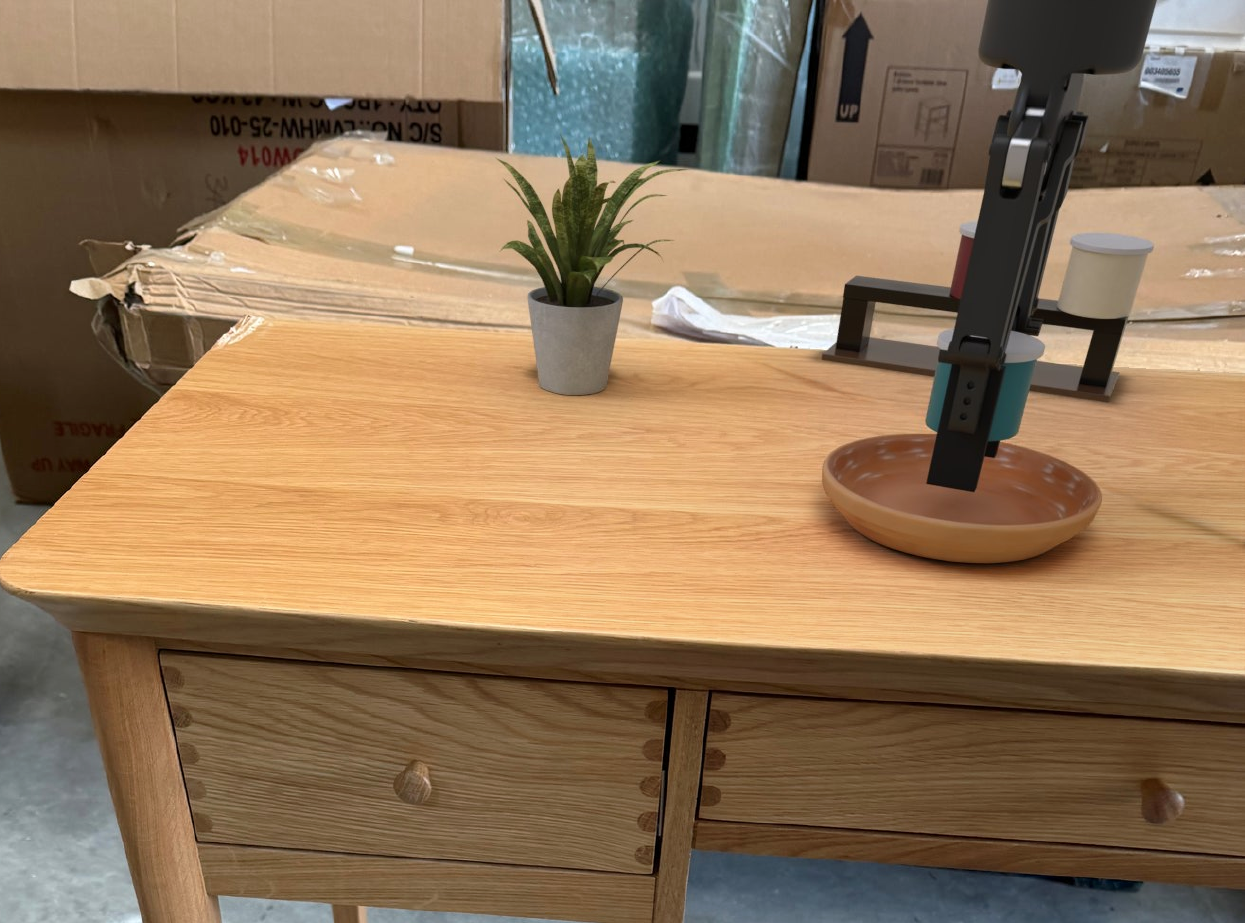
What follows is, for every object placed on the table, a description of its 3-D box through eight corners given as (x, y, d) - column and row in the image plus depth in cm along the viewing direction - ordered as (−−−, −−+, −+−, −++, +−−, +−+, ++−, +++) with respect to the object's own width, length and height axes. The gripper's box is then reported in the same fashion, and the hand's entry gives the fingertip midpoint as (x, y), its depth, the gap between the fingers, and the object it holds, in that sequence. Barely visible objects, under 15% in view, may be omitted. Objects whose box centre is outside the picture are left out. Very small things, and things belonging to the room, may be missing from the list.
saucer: (861, 460, 81) (869, 414, 79) (1108, 507, 75) (1123, 459, 73) (777, 541, 70) (784, 489, 68) (1059, 603, 64) (1075, 550, 62)
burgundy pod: (1038, 300, 92) (1055, 231, 89) (988, 309, 89) (1004, 239, 86) (980, 284, 95) (994, 218, 92) (930, 292, 93) (944, 225, 90)
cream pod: (1149, 313, 89) (1171, 244, 86) (1101, 323, 87) (1122, 252, 84) (1085, 297, 93) (1103, 229, 90) (1037, 306, 90) (1054, 237, 87)
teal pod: (1044, 432, 68) (1067, 345, 65) (976, 450, 66) (998, 360, 63) (966, 405, 72) (985, 322, 69) (899, 421, 69) (916, 335, 67)
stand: (1104, 412, 90) (1130, 326, 86) (820, 369, 97) (832, 287, 93) (1115, 388, 95) (1140, 305, 91) (843, 348, 102) (855, 270, 98)
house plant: (709, 408, 89) (735, 148, 78) (533, 426, 85) (536, 154, 74) (630, 356, 99) (643, 119, 88) (470, 370, 95) (464, 123, 84)
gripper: (1028, -41, 63) (932, 414, 78) (956, -35, 50) (858, 510, 65) (1180, -36, 61) (1051, 433, 76) (1146, -28, 48) (999, 536, 63)
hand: (962, 467), depth 70 cm, fingers closed on teal pod, 6 cm apart
